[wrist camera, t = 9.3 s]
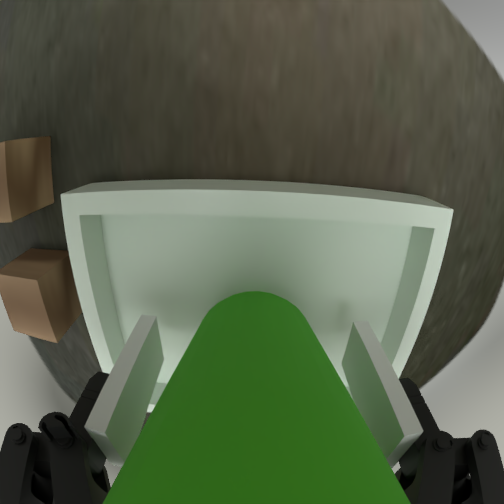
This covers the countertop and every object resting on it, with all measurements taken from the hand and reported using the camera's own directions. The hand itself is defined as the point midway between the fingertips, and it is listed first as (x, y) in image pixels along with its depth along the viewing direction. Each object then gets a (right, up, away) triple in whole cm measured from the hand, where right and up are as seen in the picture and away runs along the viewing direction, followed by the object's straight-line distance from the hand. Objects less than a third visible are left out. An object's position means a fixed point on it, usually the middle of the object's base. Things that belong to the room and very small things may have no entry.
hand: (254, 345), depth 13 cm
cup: (0, 0, +1) cm, 1 cm away
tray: (0, +1, +3) cm, 3 cm away
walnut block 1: (-14, +9, 0) cm, 16 cm away
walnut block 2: (-13, +3, +3) cm, 14 cm away
